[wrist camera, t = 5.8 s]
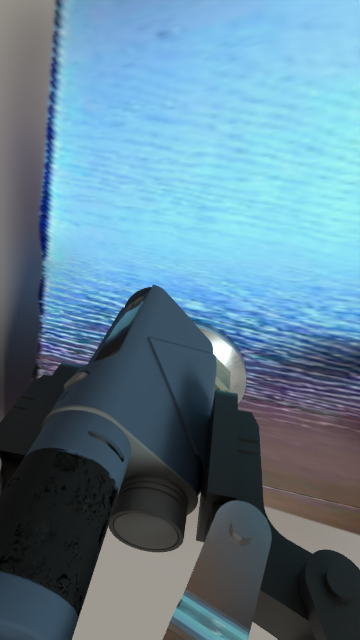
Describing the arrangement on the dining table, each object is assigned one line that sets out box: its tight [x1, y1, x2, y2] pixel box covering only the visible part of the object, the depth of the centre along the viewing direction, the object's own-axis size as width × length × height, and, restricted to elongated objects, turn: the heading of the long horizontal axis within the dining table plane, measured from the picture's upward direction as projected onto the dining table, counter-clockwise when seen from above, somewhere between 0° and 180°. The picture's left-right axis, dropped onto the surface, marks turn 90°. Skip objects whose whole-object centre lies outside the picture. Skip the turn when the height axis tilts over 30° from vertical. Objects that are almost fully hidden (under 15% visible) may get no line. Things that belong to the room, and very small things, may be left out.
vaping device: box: [0, 285, 217, 640], centre depth 10 cm, size 3×5×12 cm, turn 40°
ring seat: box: [192, 320, 246, 404], centre depth 32 cm, size 12×12×4 cm
